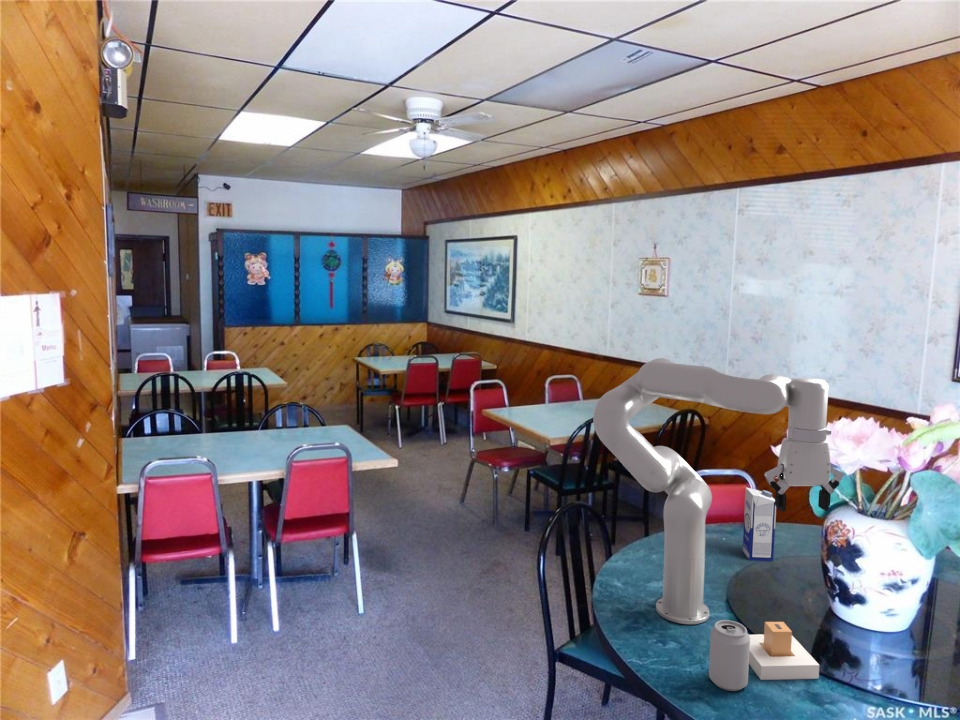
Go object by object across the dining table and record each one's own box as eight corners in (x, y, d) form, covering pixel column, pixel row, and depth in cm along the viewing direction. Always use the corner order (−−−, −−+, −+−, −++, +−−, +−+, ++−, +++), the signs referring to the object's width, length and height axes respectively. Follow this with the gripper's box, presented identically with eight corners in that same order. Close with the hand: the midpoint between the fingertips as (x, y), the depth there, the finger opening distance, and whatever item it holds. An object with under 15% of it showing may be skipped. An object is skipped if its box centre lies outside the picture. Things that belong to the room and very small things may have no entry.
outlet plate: (736, 647, 149) (737, 634, 148) (790, 646, 149) (790, 633, 149) (760, 679, 137) (761, 666, 136) (818, 678, 137) (819, 665, 137)
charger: (762, 656, 145) (764, 621, 144) (781, 656, 145) (783, 621, 144) (771, 667, 141) (773, 631, 140) (790, 667, 141) (792, 631, 140)
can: (738, 671, 140) (741, 617, 138) (754, 693, 132) (757, 636, 131) (703, 671, 140) (705, 617, 138) (717, 694, 132) (719, 637, 131)
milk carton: (742, 550, 201) (745, 486, 198) (765, 551, 200) (768, 487, 198) (749, 560, 194) (752, 494, 191) (773, 561, 193) (777, 494, 191)
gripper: (835, 430, 151) (830, 503, 153) (760, 431, 151) (756, 504, 153) (854, 438, 144) (849, 514, 146) (775, 439, 143) (771, 515, 145)
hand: (802, 509), depth 149 cm, fingers open, 9 cm apart
